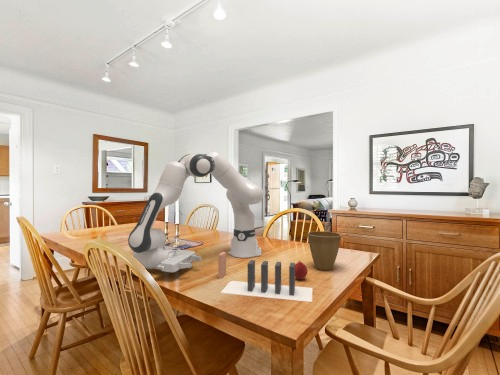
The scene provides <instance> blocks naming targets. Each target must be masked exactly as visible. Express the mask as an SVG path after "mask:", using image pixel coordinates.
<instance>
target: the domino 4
mask: <svg viewBox="0 0 500 375" xmlns="http://www.w3.org/2000/svg"><path fill="white" fill-rule="evenodd" d="M295 264H296V263H295V262H289V267H288V279H289V280H288V283H289V284H288V286H289V295H292V296H294V292H295V286H296V277H295Z"/></svg>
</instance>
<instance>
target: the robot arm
mask: <svg viewBox="0 0 500 375" xmlns="http://www.w3.org/2000/svg"><path fill="white" fill-rule="evenodd" d="M209 174H210V175H211V176H212V177H213V178H214V179H215V180H216V181H217V182H218V183H219V184H220V185H221V186H222V188H224V189H226V199H228V201H229V204H230V205H231V208H232V212H233V218H234V219H233V221H234V222H233V223H234V224H233V225H234V228H233V237H231V239H230V250H229V251H228V253H227V254H228V255H231V256H232V257H234V258H235V257H236V258H240V259H241V258H242V259H243V258H244V259H246V258H253V257H259V256H262V247H261V246H259V245H258V244H259V243H258V238H257V237H256V227H255V215H254V212H252V210H251V208H250V205H256V204H259V203H261V202H262V200H263V198H264V190H263V188H262V187H261V186H260V185H257V184H255V183H254V182H252V181H251V180H249V179H248V178H246V177H245V176H244V175H243V174H241V173H240V172H239V171H238V170H237V169H236V168H235V167H234V166H233V165H232V163H231V162H230V161H229V160H228V159H227V158H225V157H224V155H223V154H221V153H219V152H218V151H214V150H213V151H210V152H208V153H207V154H203V153H202V154H201V153H188V154H185V155H184V156H182V157H181V158H180V159H179V160H177V161H176V160H175V161H173V160H172V161H169V162H168V163H167V164H166V166H165V167H164V169H163V171H162V173H161V175H160V178H159V181H158V183H157V185H156V188H155V190H154V191H153V193H152V194H151V195H150V197H149V198H148V200H147V202H146V204H145V206H144V208H143V211H142V212H141V214H140V217H139V219H138V221H137V223H136V224H135V227H133V229H132V230H131V231H130V233H129V235H128V238H127V242H128V243H127V244H128V246H129V248H130V249H131V251H132V252H133V253H132V256H133V257H134V258H136V259H137V260H138V261H139V262H140V263H141V264H142V265H143V266H144V267H145V268H144V269H145V270H146V269H148V270H153V269H154V270H155V269H156V270H158V271H162V272H167V273H176V272H178V271H179V270H181V269H186V268H187V269H191V268H192V267H193V263H192V262H193V261H196V262H200V261H202V256H198V255H197V253H196V252H195V251H194V250H187V249H180V248H172V249H165V247H166V240H167V236H166V233H165V232H164V230H163V229H161V228H157V227H156V228H154V227H153V226H154V225H155V222H156V220H157V218H158V215H159V213H160V211H162V210H164V208H166V207H167V206H169V205H173V204H174V203H176V202H177V201H178V200H179V199H180V197H181V195H182V192H183V189H184V186H185V183H186V181H187V179H188V178H189V177H194V178H195V177H197V178H198V177H199V178H203V177H206V176H208V175H209Z"/></svg>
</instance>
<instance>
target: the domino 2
mask: <svg viewBox="0 0 500 375" xmlns="http://www.w3.org/2000/svg"><path fill="white" fill-rule="evenodd" d="M260 271H261V272H260V283H261V293H266V291H267V289H268V284H269V261H268V260H263V261H262V263H261V264H260Z"/></svg>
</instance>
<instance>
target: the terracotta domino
mask: <svg viewBox="0 0 500 375" xmlns="http://www.w3.org/2000/svg"><path fill="white" fill-rule="evenodd" d="M217 256H218V258H217V259H218V261H217V262H218V266H217V267H218V270H217V271H218V274H217V275H218V276H217V278H218V279H220V280H221V279H224V277H225V276H227V252H226V251H222V252H220V253H219V254H218V255H217Z"/></svg>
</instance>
